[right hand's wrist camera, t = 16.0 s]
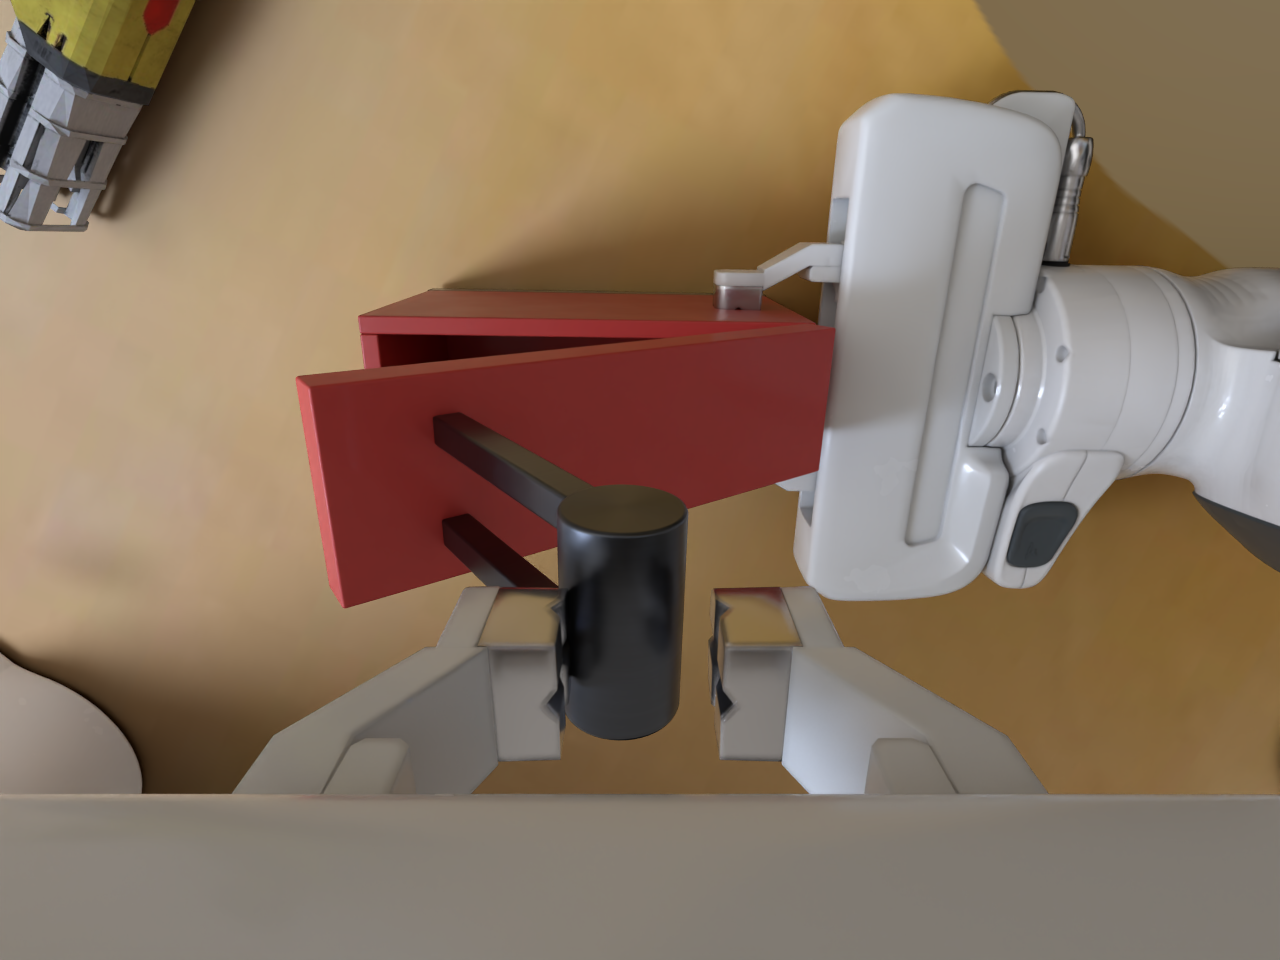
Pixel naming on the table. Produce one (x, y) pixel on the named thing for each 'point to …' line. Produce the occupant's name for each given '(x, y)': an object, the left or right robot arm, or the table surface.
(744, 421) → the lid
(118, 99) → the toy gun
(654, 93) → the table surface
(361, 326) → the chest
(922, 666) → the table surface
